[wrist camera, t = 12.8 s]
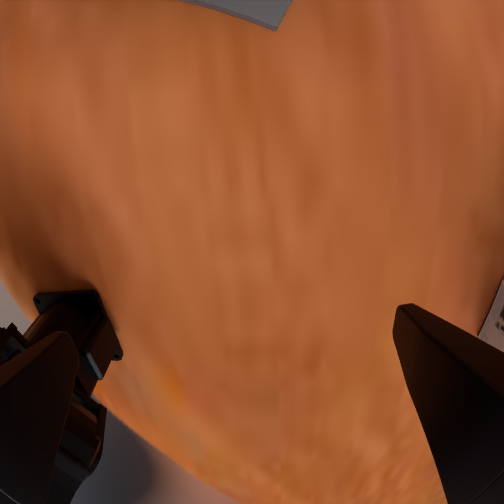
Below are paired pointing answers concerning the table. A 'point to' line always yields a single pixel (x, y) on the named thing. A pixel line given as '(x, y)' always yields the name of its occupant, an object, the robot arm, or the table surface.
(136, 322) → the table surface
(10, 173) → the table surface
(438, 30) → the table surface
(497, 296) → the light bulb box
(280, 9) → the rail plate
